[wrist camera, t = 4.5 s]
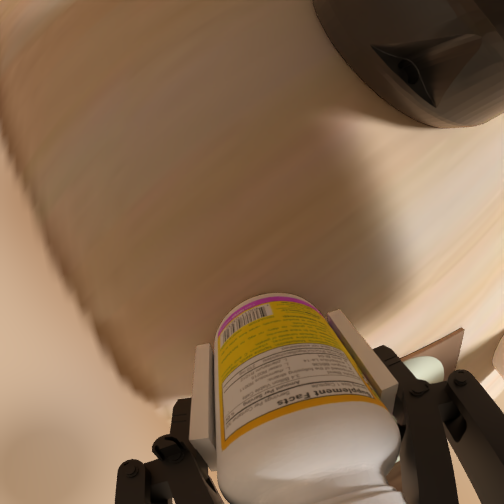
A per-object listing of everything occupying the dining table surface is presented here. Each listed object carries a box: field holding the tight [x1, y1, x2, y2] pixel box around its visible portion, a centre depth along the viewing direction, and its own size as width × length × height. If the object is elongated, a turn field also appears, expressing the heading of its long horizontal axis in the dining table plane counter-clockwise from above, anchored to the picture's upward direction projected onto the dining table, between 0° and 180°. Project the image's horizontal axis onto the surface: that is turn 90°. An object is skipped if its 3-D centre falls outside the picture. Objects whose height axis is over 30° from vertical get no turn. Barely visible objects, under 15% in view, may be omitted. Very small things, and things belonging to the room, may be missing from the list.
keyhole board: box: [386, 328, 464, 492], centre depth 19 cm, size 21×14×5 cm, turn 12°
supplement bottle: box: [214, 293, 408, 504], centre depth 10 cm, size 7×7×13 cm
